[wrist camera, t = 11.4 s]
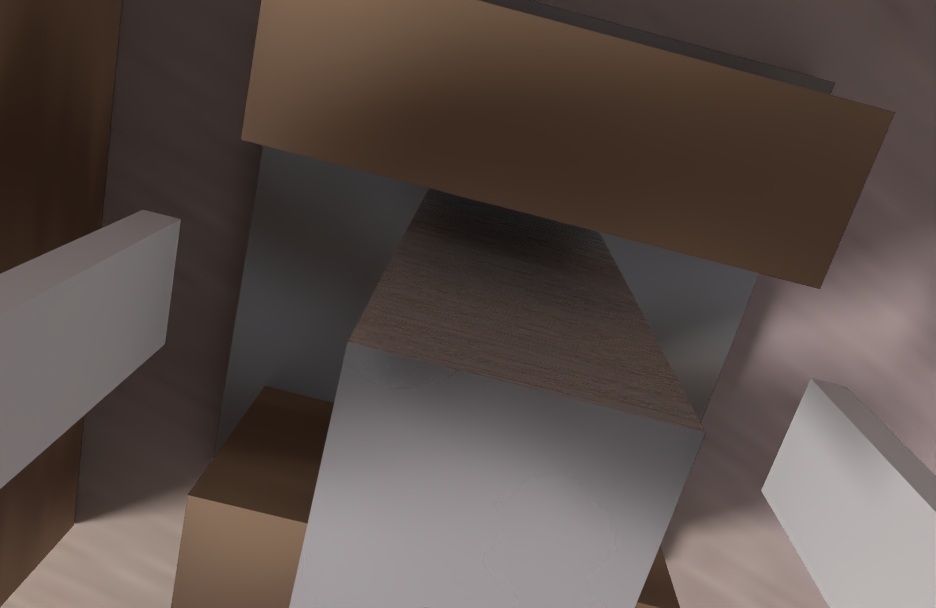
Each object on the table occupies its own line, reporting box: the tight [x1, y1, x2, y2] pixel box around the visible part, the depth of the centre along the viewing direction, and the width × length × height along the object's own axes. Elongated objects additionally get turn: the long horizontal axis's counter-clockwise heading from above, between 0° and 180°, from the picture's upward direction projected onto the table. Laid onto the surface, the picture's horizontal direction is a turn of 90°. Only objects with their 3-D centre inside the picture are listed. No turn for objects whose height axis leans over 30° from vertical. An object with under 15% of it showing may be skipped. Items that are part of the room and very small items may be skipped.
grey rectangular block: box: [289, 188, 706, 608], centre depth 13 cm, size 4×4×10 cm
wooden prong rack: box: [0, 0, 895, 608], centre depth 15 cm, size 20×18×10 cm
